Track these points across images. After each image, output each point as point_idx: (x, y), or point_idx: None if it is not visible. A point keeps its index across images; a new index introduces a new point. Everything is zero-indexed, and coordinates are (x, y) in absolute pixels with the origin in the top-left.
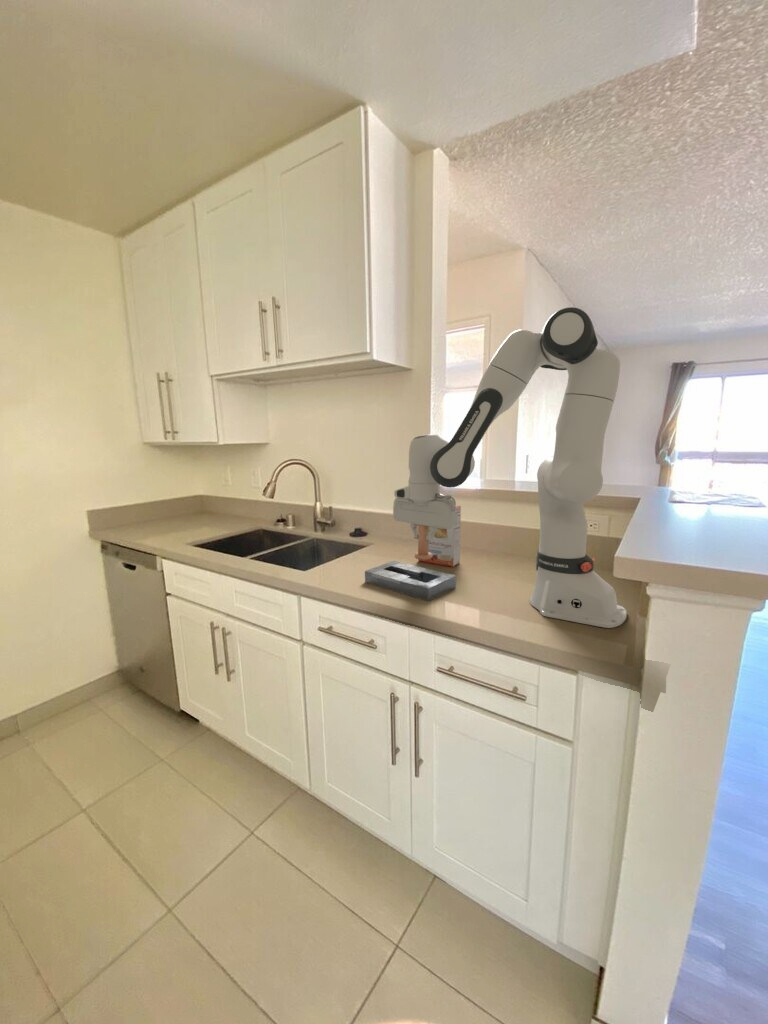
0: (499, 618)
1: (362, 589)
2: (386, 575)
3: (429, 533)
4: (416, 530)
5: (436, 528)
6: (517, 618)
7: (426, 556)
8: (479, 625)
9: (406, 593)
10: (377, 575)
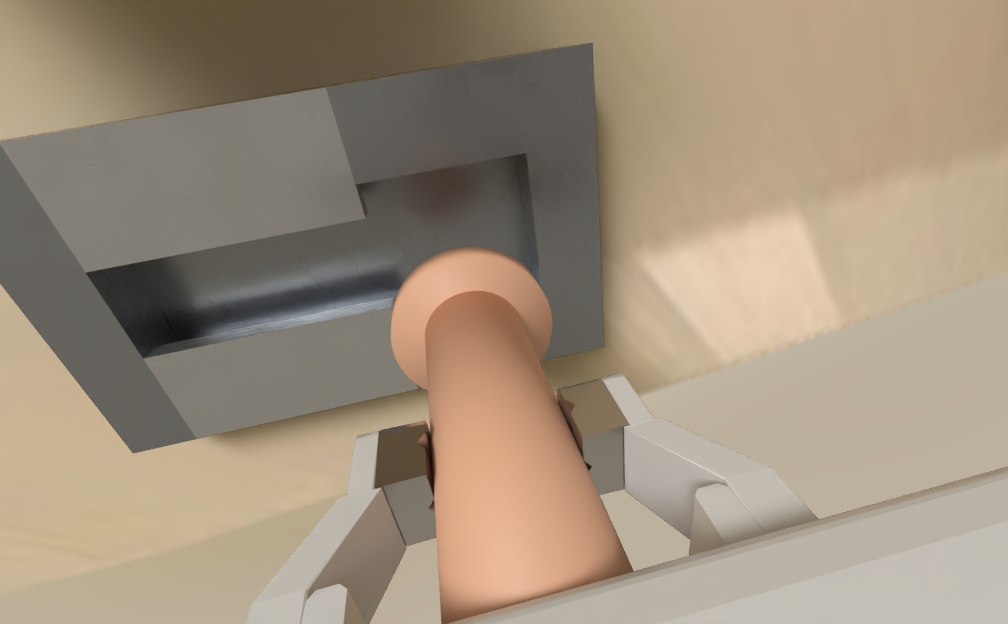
0: (890, 215)
1: (270, 451)
2: (289, 398)
3: (661, 513)
4: (376, 552)
5: (782, 501)
6: (955, 158)
7: (543, 352)
8: (838, 312)
9: None
10: (247, 424)
